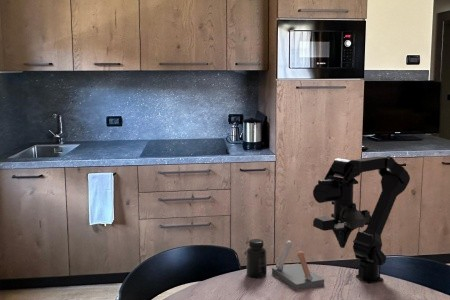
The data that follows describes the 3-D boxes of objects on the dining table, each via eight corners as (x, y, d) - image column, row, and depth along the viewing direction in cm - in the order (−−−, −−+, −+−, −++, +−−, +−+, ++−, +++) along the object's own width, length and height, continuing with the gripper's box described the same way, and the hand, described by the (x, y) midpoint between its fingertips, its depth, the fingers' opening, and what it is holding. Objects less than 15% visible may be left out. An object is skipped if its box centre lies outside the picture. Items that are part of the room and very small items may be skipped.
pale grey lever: (279, 268, 158) (290, 240, 158) (283, 271, 155) (294, 242, 156) (274, 266, 157) (285, 239, 157) (277, 269, 155) (289, 240, 155)
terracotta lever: (309, 276, 149) (300, 249, 146) (314, 278, 147) (304, 251, 144) (304, 279, 148) (294, 252, 146) (308, 282, 146) (298, 254, 143)
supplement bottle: (265, 271, 160) (265, 237, 159) (267, 278, 154) (268, 243, 152) (245, 271, 160) (245, 237, 159) (247, 278, 153) (247, 244, 152)
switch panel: (298, 268, 162) (298, 263, 162) (324, 285, 148) (324, 279, 148) (272, 273, 158) (272, 267, 158) (296, 290, 144) (296, 284, 144)
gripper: (334, 207, 132) (333, 259, 134) (385, 201, 140) (383, 251, 141) (312, 199, 142) (311, 248, 144) (361, 194, 150) (359, 241, 151)
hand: (342, 247), depth 145 cm, fingers closed
